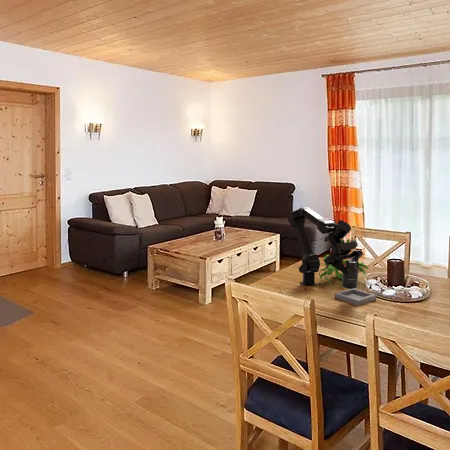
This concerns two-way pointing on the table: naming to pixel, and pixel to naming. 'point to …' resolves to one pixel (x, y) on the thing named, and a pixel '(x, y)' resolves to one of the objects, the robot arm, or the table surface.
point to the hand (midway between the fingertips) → (352, 273)
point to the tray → (355, 296)
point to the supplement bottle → (350, 275)
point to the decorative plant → (331, 269)
